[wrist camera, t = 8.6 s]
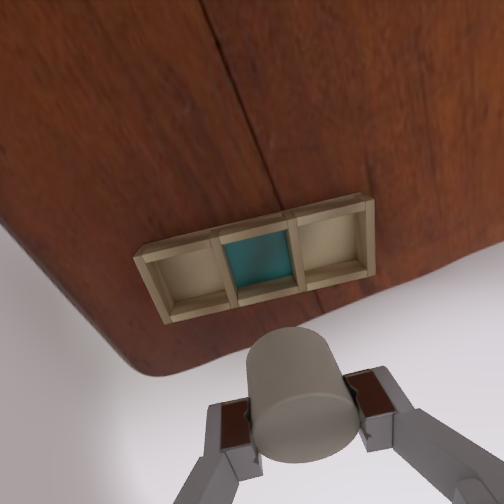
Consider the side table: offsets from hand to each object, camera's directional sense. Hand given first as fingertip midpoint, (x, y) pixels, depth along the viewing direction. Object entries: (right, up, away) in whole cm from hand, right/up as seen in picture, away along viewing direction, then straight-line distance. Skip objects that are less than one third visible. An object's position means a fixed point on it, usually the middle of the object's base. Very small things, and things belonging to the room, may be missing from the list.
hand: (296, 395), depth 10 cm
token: (0, +1, +1) cm, 2 cm away
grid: (-1, +5, +12) cm, 14 cm away
